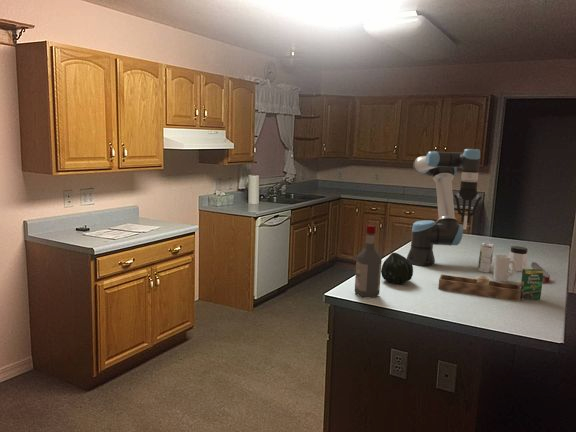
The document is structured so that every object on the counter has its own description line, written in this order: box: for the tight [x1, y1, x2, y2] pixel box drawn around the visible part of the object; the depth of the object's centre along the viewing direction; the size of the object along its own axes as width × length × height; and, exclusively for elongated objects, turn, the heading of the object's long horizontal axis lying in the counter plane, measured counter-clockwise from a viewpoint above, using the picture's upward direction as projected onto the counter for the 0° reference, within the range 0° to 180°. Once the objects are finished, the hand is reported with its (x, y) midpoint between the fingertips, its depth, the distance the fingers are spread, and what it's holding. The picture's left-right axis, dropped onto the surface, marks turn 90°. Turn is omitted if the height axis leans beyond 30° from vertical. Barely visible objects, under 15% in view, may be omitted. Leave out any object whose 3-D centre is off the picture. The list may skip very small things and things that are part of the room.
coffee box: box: [520, 268, 543, 301], centre depth 208 cm, size 8×3×13 cm, turn 90°
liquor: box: [354, 224, 382, 298], centre depth 204 cm, size 9×9×30 cm
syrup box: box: [477, 242, 495, 273], centre depth 253 cm, size 6×6×14 cm
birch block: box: [476, 275, 490, 286], centre depth 215 cm, size 5×5×4 cm
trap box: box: [437, 273, 521, 302], centre depth 216 cm, size 34×10×4 cm, turn 67°
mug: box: [493, 254, 517, 282], centre depth 236 cm, size 10×7×12 cm, turn 55°
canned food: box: [530, 261, 551, 284], centre depth 240 cm, size 11×10×10 cm
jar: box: [508, 245, 529, 272], centre depth 259 cm, size 9×8×12 cm
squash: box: [381, 252, 414, 285], centre depth 227 cm, size 14×15×15 cm
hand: (464, 229), depth 236 cm, fingers closed
